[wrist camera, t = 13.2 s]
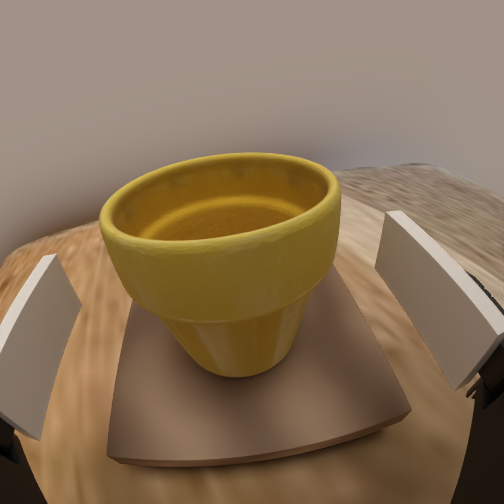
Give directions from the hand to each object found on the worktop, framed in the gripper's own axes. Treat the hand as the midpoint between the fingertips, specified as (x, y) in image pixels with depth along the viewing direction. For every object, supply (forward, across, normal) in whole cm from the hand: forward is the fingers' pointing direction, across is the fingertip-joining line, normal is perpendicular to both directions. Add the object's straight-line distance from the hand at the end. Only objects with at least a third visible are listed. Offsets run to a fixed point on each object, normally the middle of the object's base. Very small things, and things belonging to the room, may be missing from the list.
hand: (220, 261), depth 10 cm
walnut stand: (+3, 0, -12) cm, 12 cm away
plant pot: (+3, 0, -8) cm, 8 cm away
